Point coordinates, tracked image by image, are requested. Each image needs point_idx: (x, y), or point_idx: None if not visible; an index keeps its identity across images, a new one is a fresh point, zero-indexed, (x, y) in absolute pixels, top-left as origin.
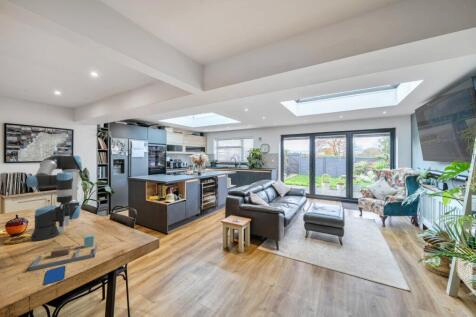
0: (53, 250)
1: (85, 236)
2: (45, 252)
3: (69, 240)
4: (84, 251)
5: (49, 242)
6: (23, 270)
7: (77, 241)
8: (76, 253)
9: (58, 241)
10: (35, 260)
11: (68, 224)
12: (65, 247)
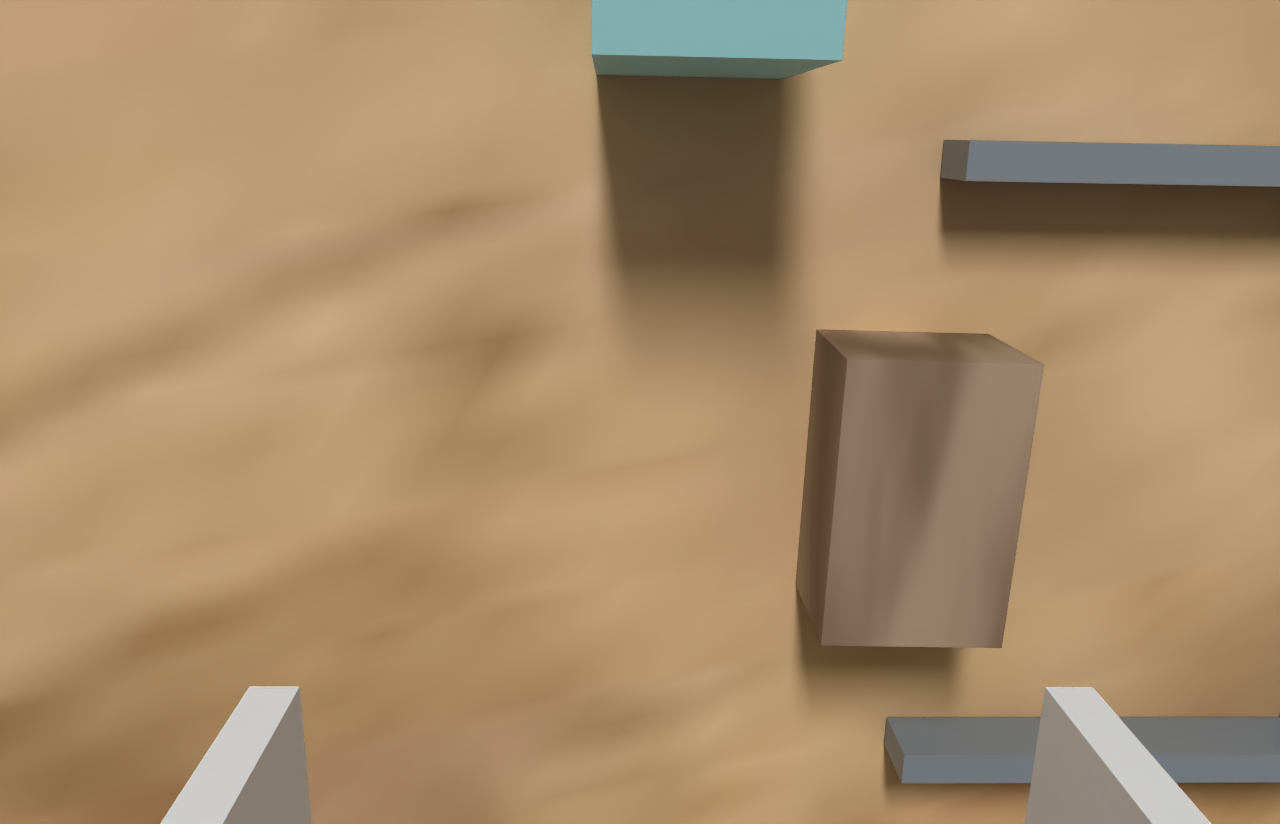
0: (941, 624)
1: (734, 39)
2: (587, 732)
3: (55, 470)
4: (1015, 43)
5: (10, 804)
6: (1206, 815)
7: (219, 290)
8: (1262, 168)
9: (22, 665)
10: None
11: (282, 726)
12: (907, 439)
